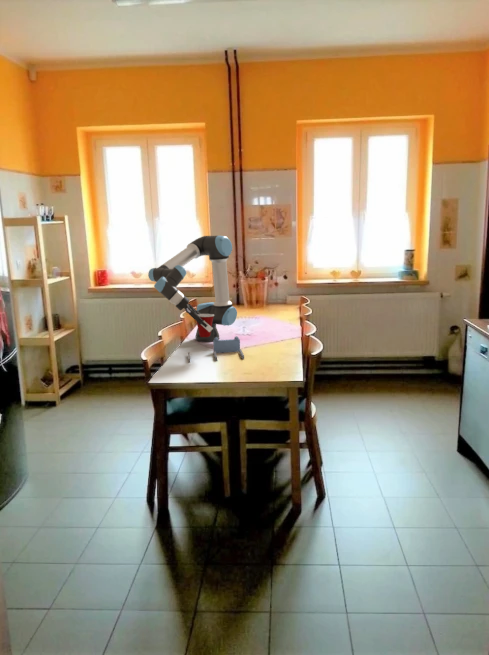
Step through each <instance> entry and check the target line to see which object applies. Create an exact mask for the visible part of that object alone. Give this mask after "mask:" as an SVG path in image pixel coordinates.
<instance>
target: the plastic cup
mask: <svg viewBox="0 0 489 655" xmlns="http://www.w3.org/2000/svg"><path fill="white" fill-rule="evenodd" d="M197 315H198V316H199V317H200V318H201V319H202V320H203V321H205V322H206V323H207V324H209V325H210V326H211V327H212V321H213V317H214V314H197ZM195 322H196V326H197V328H198V331H199V335H200V337H209V336H210V335H211V331H210V332H209V331H207V330H206V329H205V328H204V327H203V326H202V325H201V324H200V325H199V323H198V322H197V321H196V320H195Z"/></svg>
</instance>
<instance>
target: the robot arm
mask: <svg viewBox="0 0 489 655" xmlns="http://www.w3.org/2000/svg"><path fill="white" fill-rule="evenodd" d="M232 251H233V244H232V241H231V239H229V238H228V236H226V235H203V236H200V237H198V238H196V239H194V240H193V241H191V242H190V243H188V244H187V245H186V248H184V249H183V250H181V251H180V252H178V253H177V254H176V255H174V256H172V257H171V258H170V259H168V260H167V261H165V262H164V263H163V264H161V265H159V266H158V267H151V268H150V269H149V271H148V272H147V273H148V279H149V280H150V281H151V282H155V284H154V285H153V287H154V288H155V290H157V292H158V293H160V295H162V296H163V297H165V299H167V300H168V301H169V303H170V304H172V305H174V306H175V307H176V309H178V310H179V311H183V309H184V310H185V312H186V313H187V314H188V315H189V316H190V317H192V319H193V320H194V321H195V322H196V321H197V322H198V323H199V325H200V324H201V325H202V326H203V327H204V328H205V329H206V330H207V331H209V332H210V331H211V335H210V336H209V337H200V335H199V331H198V327H196V328H197V329H196V333H195V337H194V338H195V341H197V342H204V343H206V342H213V340H214V338H216V337H217V338H218V339H219V340H220V333H219V331H218V328H217V325H220V326H227V327H228V326H231V325H233V324H234V323H235V321H236V319H237V316H238V310H237V308H236V307H235V306H233V302H232V301H231V300H230V289H229V276H228V264H227V262H228V260H229V259H230V257H229V256H230V255H232ZM202 256H208V259H209V261H211V265H212V274H213V288H214V298H215V301H211V302H204V303H203V302H202V303H199V304H197V305H196V309H195V307H193V306H192V305H191V303H190V299H189V298H188V297H187V296H186V295H184V293H183V292H181V291H180V289H178V287H177V286H178V285H179V284H181V282H182V281H183V280H184V279H185V276H187V270H186V268H184V266H185V265H187V264H189V263H190V262H192V261H193V260H194V259H198V258H199V257H202ZM197 314H214V317H213V321H212V327H211V326H210V325H209V324H207V323H206V322H205V321H203V320H202V319H201V318H200V317H199V316H198V315H197ZM197 322H196V323H197Z"/></svg>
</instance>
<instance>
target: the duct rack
mask: <svg viewBox="0 0 489 655" xmlns="http://www.w3.org/2000/svg"><path fill="white" fill-rule="evenodd" d="M212 342H213V355H214V360H215V362H218V356H217V354H221V353H224V354H225V353H236V352H238V353H239V356H240V357H241V359H242V360H245V354H244V353H243V350H242V349H241V339H240V338H239V337H238V336H237V335H236V336H234V338H231V339H220V338H219V339H218V338H217V337H216V338H214V340H213V341H212ZM187 362H188V363H191V353H190V352H189V351H188V352H187Z"/></svg>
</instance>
